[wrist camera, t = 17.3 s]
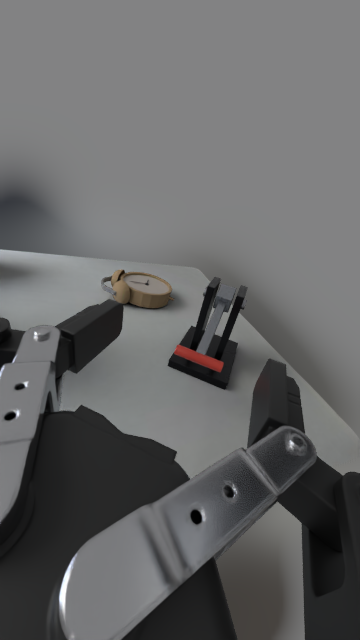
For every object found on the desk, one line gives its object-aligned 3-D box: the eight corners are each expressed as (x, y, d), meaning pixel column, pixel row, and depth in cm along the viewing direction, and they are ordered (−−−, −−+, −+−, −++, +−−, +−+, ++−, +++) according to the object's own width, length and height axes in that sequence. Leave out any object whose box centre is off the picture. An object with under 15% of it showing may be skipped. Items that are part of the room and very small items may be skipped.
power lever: (218, 377, 26) (223, 366, 24) (173, 358, 27) (174, 347, 25) (243, 304, 34) (248, 291, 32) (207, 292, 35) (210, 279, 33)
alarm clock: (179, 298, 48) (105, 281, 42) (171, 317, 51) (99, 305, 44) (166, 276, 57) (103, 260, 51) (159, 293, 59) (98, 280, 53)
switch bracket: (224, 389, 33) (258, 313, 27) (167, 366, 35) (185, 289, 28) (235, 348, 42) (262, 284, 36) (189, 331, 44) (207, 267, 38)
